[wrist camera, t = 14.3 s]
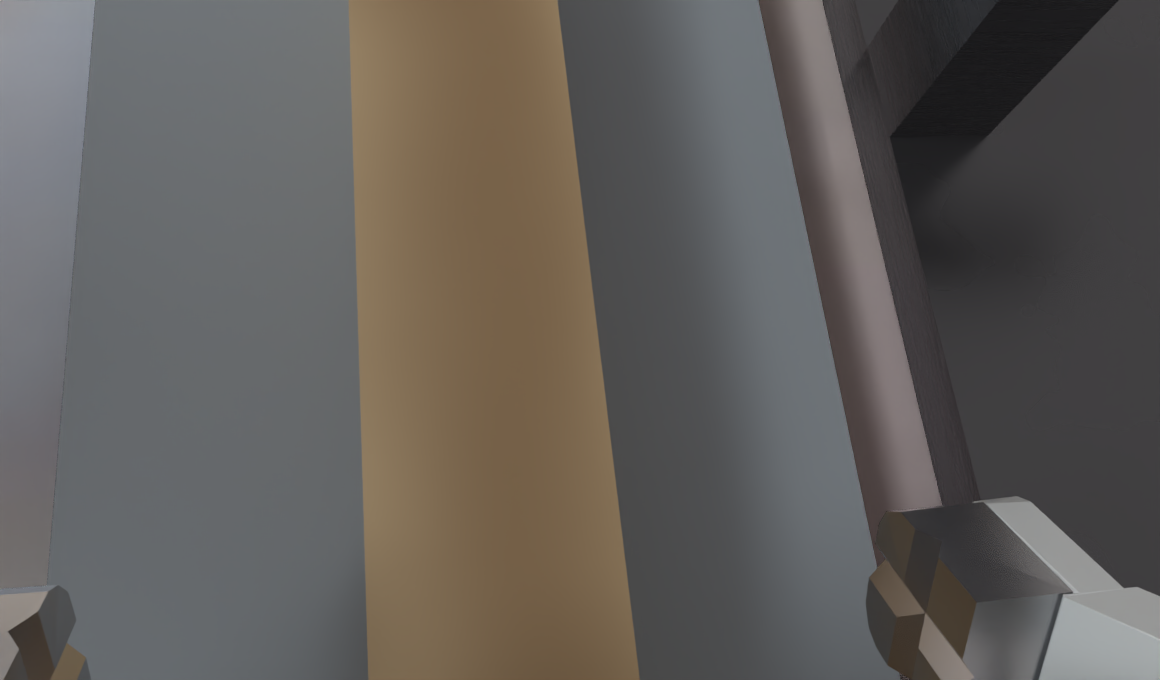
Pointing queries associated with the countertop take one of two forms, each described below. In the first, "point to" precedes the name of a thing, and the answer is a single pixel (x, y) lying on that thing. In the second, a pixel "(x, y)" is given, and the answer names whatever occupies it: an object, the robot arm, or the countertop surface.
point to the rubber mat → (331, 350)
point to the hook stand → (1023, 247)
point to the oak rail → (479, 354)
